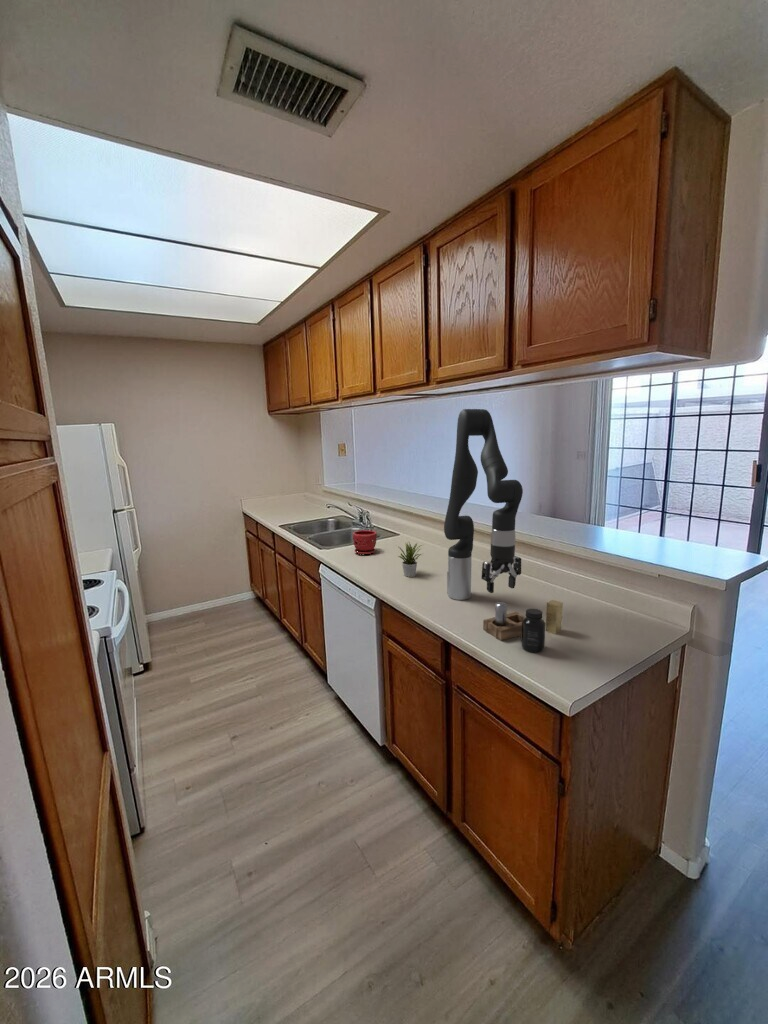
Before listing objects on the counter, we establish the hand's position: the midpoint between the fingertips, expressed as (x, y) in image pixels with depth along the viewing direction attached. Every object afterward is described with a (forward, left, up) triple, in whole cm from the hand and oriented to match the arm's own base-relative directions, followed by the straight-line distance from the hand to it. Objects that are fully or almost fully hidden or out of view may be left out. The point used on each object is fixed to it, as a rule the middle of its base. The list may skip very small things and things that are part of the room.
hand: (501, 589), depth 140 cm
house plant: (-64, +2, -15) cm, 66 cm away
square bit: (+7, +17, -15) cm, 23 cm away
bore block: (0, +4, -15) cm, 15 cm away
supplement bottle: (+13, +2, -15) cm, 20 cm away
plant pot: (-110, -4, -15) cm, 111 cm away
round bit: (0, 0, -15) cm, 15 cm away
